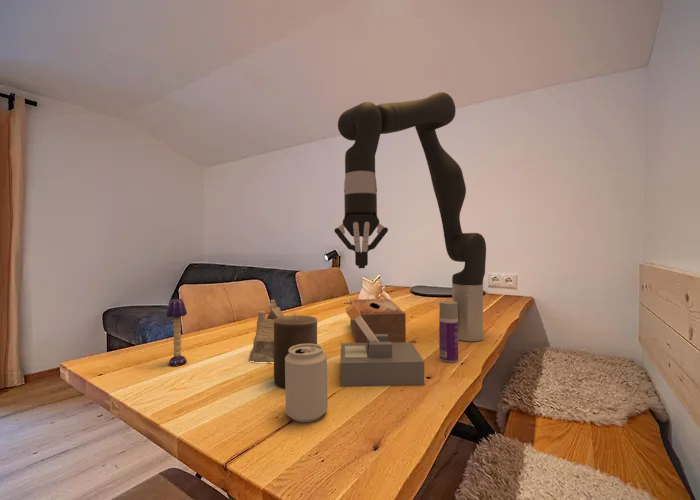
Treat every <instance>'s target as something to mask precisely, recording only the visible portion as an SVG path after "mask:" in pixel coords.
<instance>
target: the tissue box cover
mask: <svg viewBox="0 0 700 500" xmlns="http://www.w3.org/2000/svg"><path fill="white" fill-rule="evenodd" d="M349 302H350V305H351V304H353V303H355V305H356V306H357V307H358V309H359V310H360V314H361V317H362V318H363V320H364V321H365V322H366V324H367V325H368V327H369V328H370V329H371V331H372V332H373V334H387V335H388V342H407V337H406V335H407V333H406V332H407V331H406V330H407V329H406V328H407V327H406V325H407V324H406V321H407V320H406V314H407V313H406V312H405V311H403V310H402V309H401V308H400V307H399V306H398V305H397V304H396V303H395V302H393V301H392V300H391V299H390V298H361V299H359V298H358V299H350V301H349ZM350 305H349V306H350ZM349 319H350V318H349ZM349 321H350V329H351V332H353V333H352V335H353V339H355V340H354V343H367V337H366V335H365V334H364V333H363V331H362V330H361V328H360V327H359V326H358V324H357V323H356V321H355V320H351V319H350V320H349Z"/></svg>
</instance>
